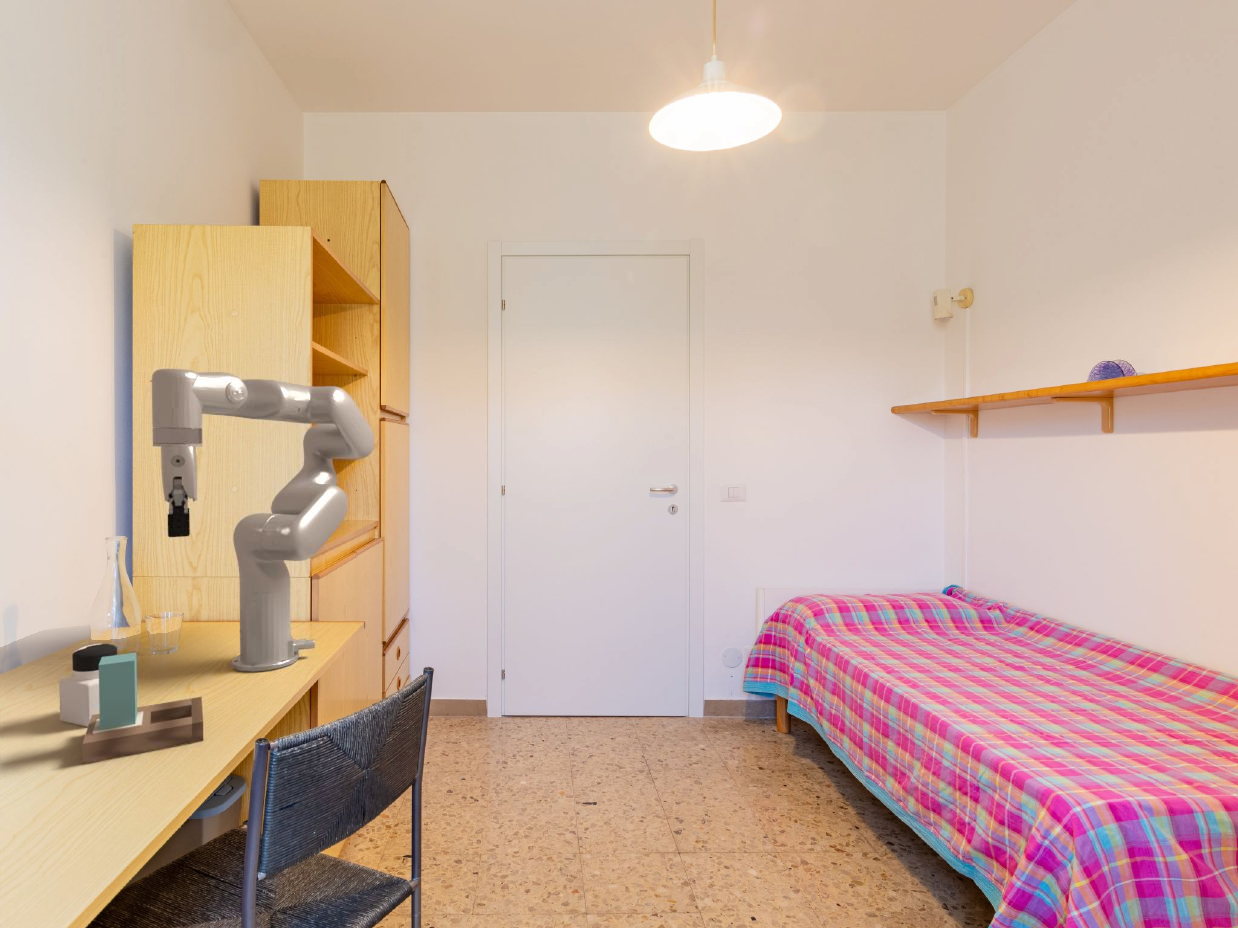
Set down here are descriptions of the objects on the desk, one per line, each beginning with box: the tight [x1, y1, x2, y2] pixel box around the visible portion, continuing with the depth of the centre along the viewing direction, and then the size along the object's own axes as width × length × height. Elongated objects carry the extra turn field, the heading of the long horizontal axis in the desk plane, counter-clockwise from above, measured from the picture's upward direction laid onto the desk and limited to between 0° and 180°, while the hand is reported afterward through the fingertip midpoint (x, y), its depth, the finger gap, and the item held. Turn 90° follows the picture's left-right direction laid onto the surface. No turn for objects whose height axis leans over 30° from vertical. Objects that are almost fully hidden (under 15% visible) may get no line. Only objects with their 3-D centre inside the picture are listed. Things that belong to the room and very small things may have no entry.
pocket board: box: [81, 696, 204, 765], centre depth 108 cm, size 15×12×3 cm
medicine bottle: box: [58, 643, 118, 728], centre depth 115 cm, size 7×7×12 cm
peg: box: [99, 652, 138, 730], centre depth 106 cm, size 4×4×10 cm
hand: (179, 533), depth 123 cm, fingers open, 9 cm apart
